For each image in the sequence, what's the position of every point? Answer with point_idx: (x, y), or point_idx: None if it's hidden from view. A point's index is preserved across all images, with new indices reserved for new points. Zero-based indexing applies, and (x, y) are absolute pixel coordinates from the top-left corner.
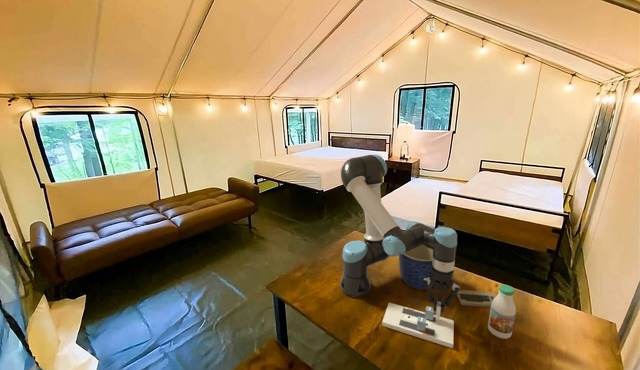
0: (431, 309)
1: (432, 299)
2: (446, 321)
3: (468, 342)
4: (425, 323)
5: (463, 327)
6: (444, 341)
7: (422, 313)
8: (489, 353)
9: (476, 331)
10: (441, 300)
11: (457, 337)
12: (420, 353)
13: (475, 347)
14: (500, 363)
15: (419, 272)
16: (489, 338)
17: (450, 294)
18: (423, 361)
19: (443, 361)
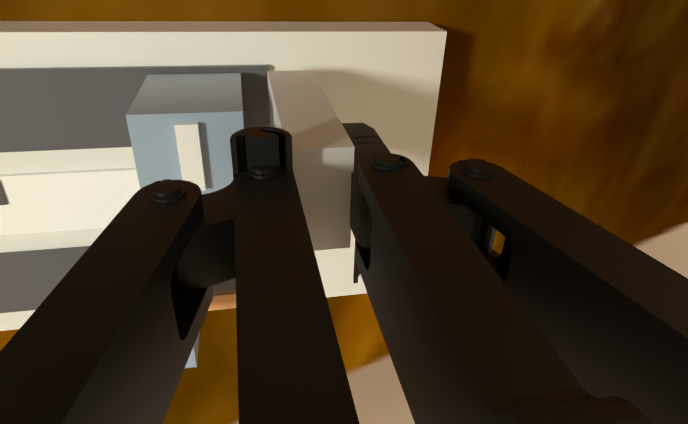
0: (213, 154)
1: (210, 271)
2: (375, 78)
3: (511, 169)
4: (195, 363)
5: (512, 20)
6: (354, 293)
7: (109, 71)
8: (614, 198)
9: (606, 24)
10: (382, 329)
11: (443, 158)
12: (209, 378)
13: (545, 191)
14: (643, 238)
15: None
16: (674, 63)
17: (634, 401)
18: (237, 408)
19: (343, 361)
